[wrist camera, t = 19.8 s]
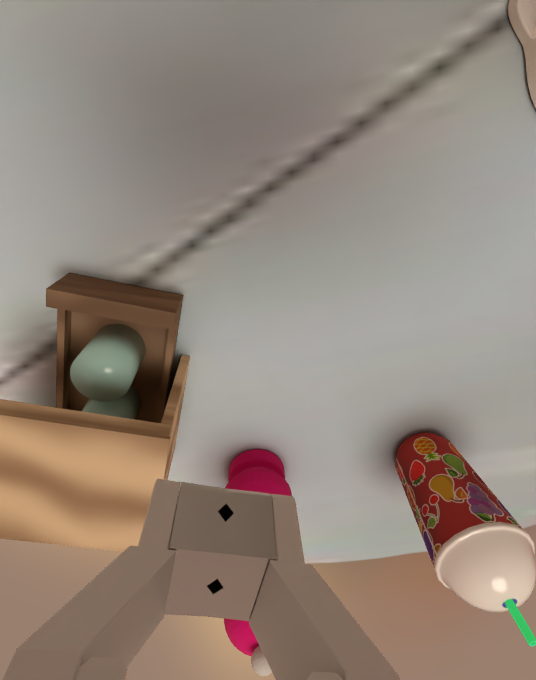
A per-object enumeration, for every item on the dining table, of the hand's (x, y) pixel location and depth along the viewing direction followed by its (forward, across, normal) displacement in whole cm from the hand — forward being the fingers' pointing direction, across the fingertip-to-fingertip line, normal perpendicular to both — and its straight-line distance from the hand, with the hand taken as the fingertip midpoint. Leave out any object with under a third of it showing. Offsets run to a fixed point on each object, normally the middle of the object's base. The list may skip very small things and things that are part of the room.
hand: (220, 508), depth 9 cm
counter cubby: (+29, +9, +18) cm, 35 cm away
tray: (+29, +9, +14) cm, 34 cm away
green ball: (+28, +9, +12) cm, 32 cm away
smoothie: (+29, -25, +19) cm, 43 cm away
